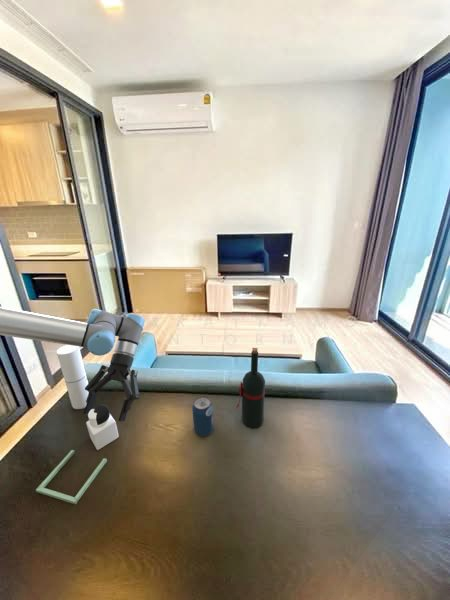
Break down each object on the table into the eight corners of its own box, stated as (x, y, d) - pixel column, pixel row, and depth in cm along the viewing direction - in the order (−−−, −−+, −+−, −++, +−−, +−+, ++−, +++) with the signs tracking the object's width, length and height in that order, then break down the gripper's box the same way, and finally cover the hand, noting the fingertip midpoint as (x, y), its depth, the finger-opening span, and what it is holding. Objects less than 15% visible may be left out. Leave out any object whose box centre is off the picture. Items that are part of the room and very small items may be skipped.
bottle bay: (36, 492, 69) (35, 489, 69) (72, 451, 80) (71, 449, 80) (75, 504, 66) (74, 502, 66) (107, 460, 77) (106, 458, 77)
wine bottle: (236, 410, 96) (236, 342, 85) (263, 412, 95) (266, 343, 84) (234, 427, 88) (234, 354, 78) (263, 429, 87) (267, 356, 77)
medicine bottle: (111, 425, 90) (105, 398, 86) (119, 437, 85) (113, 410, 81) (90, 437, 85) (82, 410, 81) (97, 451, 80) (89, 422, 76)
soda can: (217, 431, 87) (216, 404, 83) (199, 441, 83) (198, 413, 79) (207, 418, 92) (206, 392, 88) (190, 427, 89) (188, 400, 84)
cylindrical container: (68, 408, 98) (51, 353, 89) (80, 395, 104) (66, 343, 96) (84, 410, 97) (69, 355, 88) (96, 397, 103) (83, 344, 94)
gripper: (158, 361, 93) (142, 423, 84) (101, 353, 98) (80, 411, 90) (149, 356, 86) (130, 424, 78) (88, 348, 92) (65, 410, 83)
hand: (103, 417), depth 84 cm, fingers open, 13 cm apart
